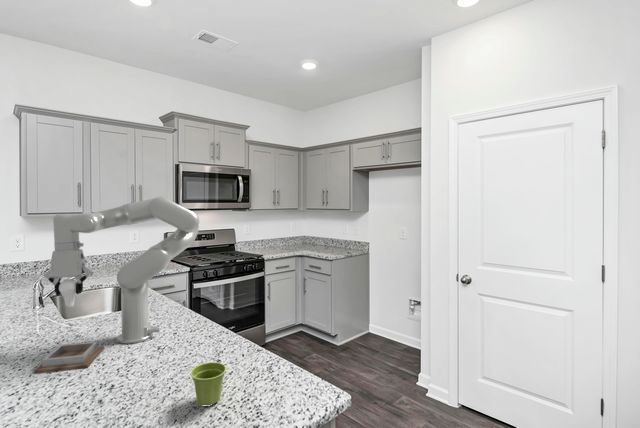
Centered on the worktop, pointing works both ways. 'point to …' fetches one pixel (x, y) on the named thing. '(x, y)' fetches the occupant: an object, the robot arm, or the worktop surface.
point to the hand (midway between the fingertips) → (69, 293)
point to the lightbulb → (68, 291)
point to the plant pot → (208, 382)
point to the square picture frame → (70, 360)
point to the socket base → (70, 367)
